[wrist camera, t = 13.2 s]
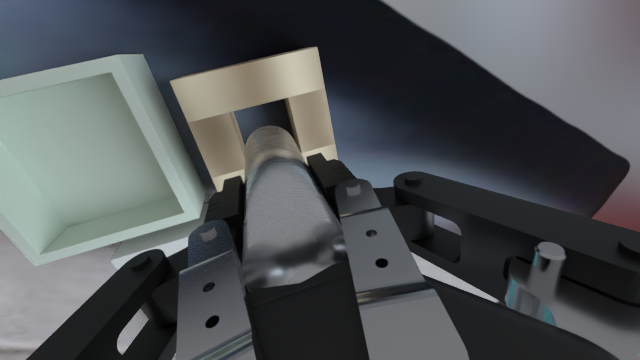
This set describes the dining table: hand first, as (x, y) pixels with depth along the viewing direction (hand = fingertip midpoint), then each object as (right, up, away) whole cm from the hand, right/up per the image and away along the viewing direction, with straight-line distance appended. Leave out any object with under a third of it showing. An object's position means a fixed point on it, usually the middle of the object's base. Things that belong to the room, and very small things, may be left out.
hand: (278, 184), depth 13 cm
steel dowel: (-1, +2, +5) cm, 5 cm away
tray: (-16, +3, +9) cm, 18 cm away
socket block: (-3, +5, +11) cm, 13 cm away
